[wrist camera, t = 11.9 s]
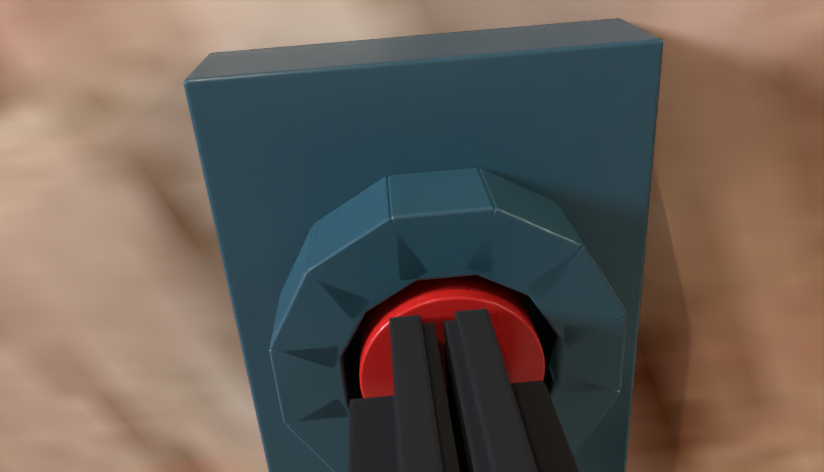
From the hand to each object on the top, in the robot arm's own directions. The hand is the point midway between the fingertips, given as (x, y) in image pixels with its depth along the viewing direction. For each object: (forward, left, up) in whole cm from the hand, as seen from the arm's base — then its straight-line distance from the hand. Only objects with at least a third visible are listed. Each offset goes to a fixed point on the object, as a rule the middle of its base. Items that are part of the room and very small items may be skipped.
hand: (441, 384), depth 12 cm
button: (0, 0, -2) cm, 2 cm away
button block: (0, 0, -4) cm, 4 cm away
